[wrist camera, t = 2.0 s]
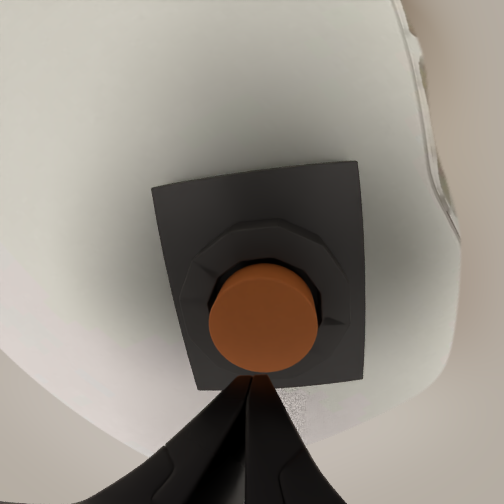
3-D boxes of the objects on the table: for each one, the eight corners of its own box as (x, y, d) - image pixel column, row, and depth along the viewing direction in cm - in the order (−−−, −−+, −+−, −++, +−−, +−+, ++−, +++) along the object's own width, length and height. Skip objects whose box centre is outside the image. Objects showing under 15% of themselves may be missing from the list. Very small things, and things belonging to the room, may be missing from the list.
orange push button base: (355, 357, 17) (369, 401, 13) (206, 368, 18) (189, 412, 15) (347, 160, 14) (368, 160, 11) (167, 184, 16) (132, 192, 12)
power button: (316, 345, 13) (320, 368, 12) (226, 351, 14) (219, 375, 12) (310, 257, 12) (314, 272, 11) (209, 267, 13) (198, 283, 11)
